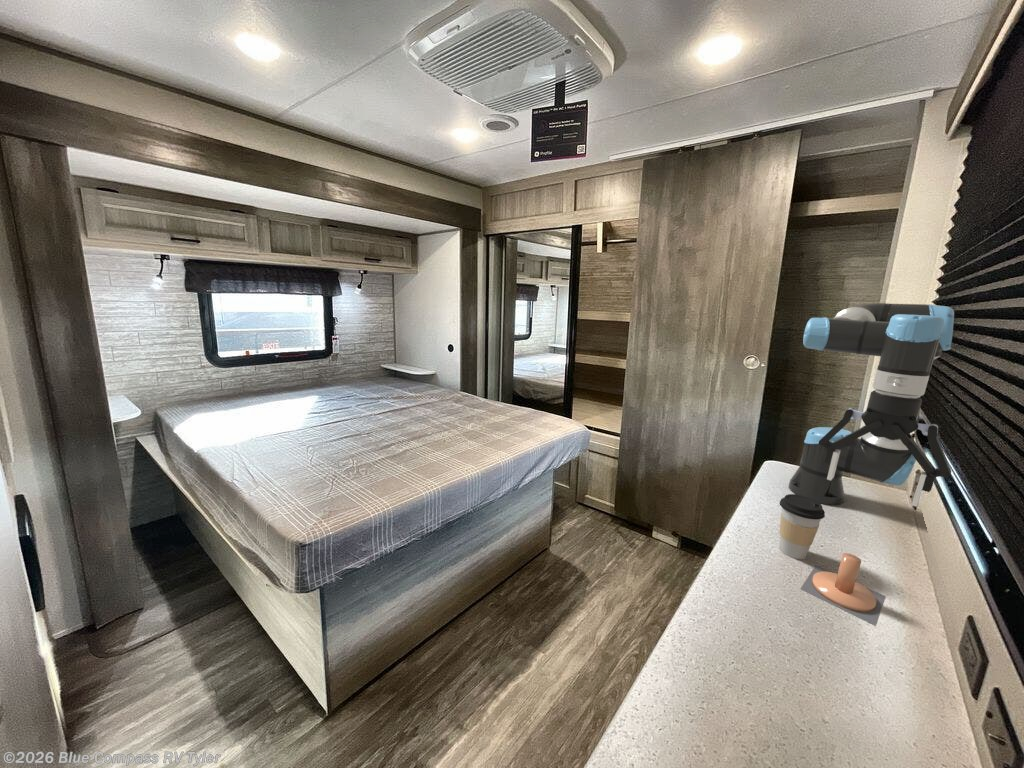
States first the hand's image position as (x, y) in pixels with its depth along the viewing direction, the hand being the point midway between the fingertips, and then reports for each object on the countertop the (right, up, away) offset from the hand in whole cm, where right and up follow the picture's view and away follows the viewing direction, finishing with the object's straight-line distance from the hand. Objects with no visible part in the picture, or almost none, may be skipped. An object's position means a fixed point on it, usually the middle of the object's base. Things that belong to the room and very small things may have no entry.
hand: (870, 490), depth 84 cm
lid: (-1, -25, +6) cm, 26 cm away
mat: (-1, -25, +6) cm, 26 cm away
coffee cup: (-3, -22, +20) cm, 30 cm away
